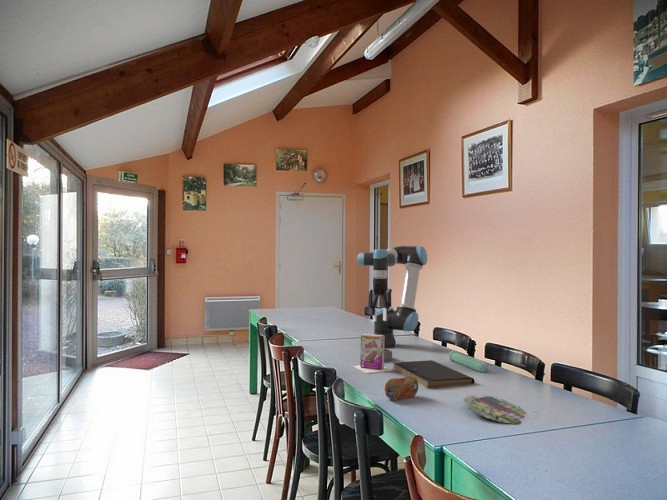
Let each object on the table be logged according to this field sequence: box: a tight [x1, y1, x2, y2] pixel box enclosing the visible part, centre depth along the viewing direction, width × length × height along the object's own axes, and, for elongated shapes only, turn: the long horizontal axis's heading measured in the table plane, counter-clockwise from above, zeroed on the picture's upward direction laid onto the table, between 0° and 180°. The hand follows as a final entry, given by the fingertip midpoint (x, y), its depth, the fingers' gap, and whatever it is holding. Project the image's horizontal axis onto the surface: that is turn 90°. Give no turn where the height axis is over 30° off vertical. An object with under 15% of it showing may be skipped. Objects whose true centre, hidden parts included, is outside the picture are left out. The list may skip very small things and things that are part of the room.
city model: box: [462, 394, 527, 425], centre depth 168 cm, size 25×23×6 cm
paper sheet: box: [353, 364, 393, 375], centre depth 228 cm, size 14×14×1 cm
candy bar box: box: [359, 333, 385, 370], centre depth 228 cm, size 11×5×16 cm, turn 70°
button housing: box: [384, 348, 393, 362], centre depth 248 cm, size 10×10×5 cm
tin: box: [384, 376, 419, 402], centre depth 183 cm, size 15×3×8 cm, turn 117°
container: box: [448, 350, 487, 373], centre depth 234 cm, size 6×6×25 cm
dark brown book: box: [392, 359, 476, 389], centre depth 216 cm, size 33×4×24 cm
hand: (379, 320), depth 248 cm, fingers open, 6 cm apart
